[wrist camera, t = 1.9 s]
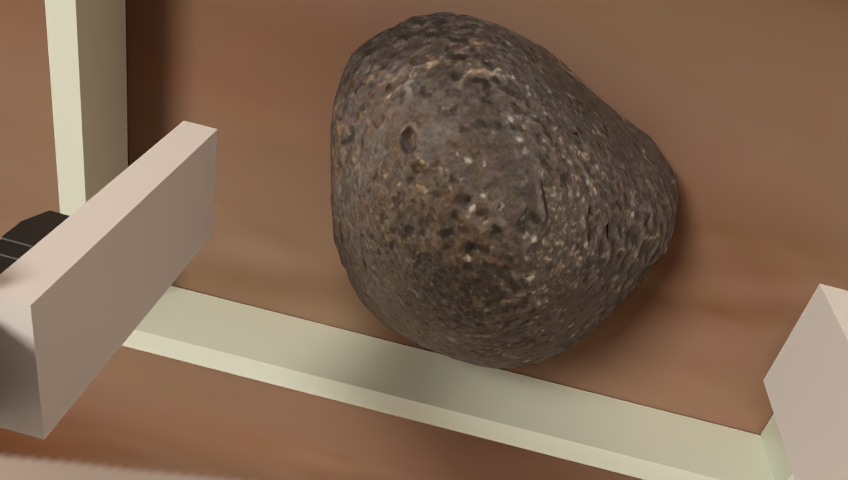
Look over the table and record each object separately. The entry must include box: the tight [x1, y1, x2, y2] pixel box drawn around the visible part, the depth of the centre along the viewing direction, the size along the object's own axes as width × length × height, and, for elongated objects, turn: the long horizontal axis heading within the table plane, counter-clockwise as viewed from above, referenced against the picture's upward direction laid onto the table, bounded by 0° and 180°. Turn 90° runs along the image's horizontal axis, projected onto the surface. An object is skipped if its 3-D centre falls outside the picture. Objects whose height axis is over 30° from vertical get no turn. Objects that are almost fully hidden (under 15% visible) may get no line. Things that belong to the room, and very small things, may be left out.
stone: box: [331, 12, 679, 369], centre depth 20 cm, size 10×8×10 cm
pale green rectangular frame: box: [45, 0, 795, 480], centre depth 20 cm, size 24×18×2 cm
